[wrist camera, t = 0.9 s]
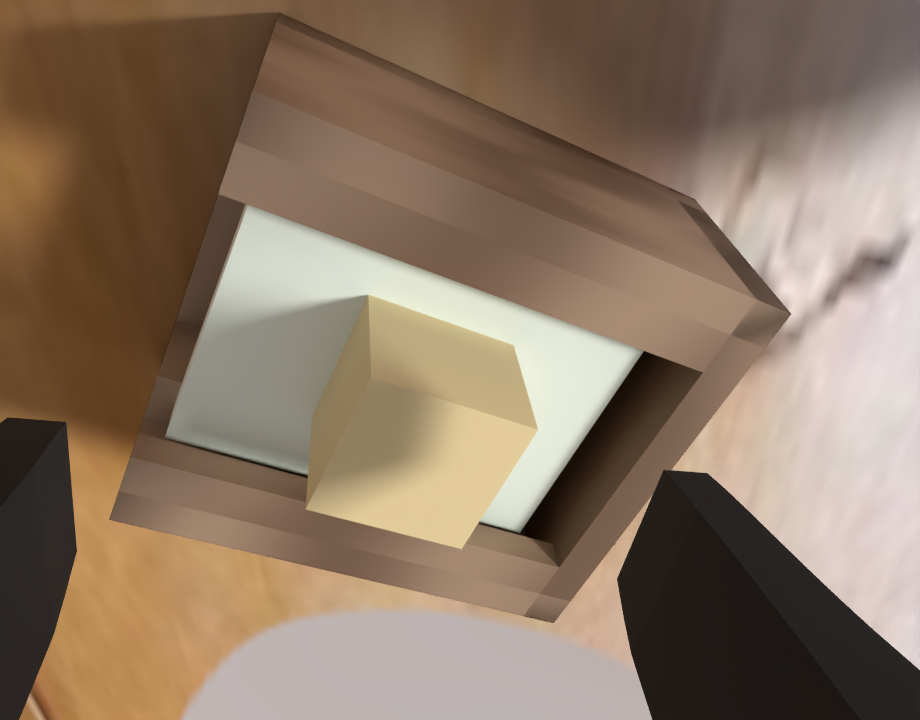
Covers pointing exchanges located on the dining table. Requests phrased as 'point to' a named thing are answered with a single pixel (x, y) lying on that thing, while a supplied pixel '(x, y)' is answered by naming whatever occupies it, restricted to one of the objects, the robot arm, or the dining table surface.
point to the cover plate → (305, 327)
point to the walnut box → (481, 267)
